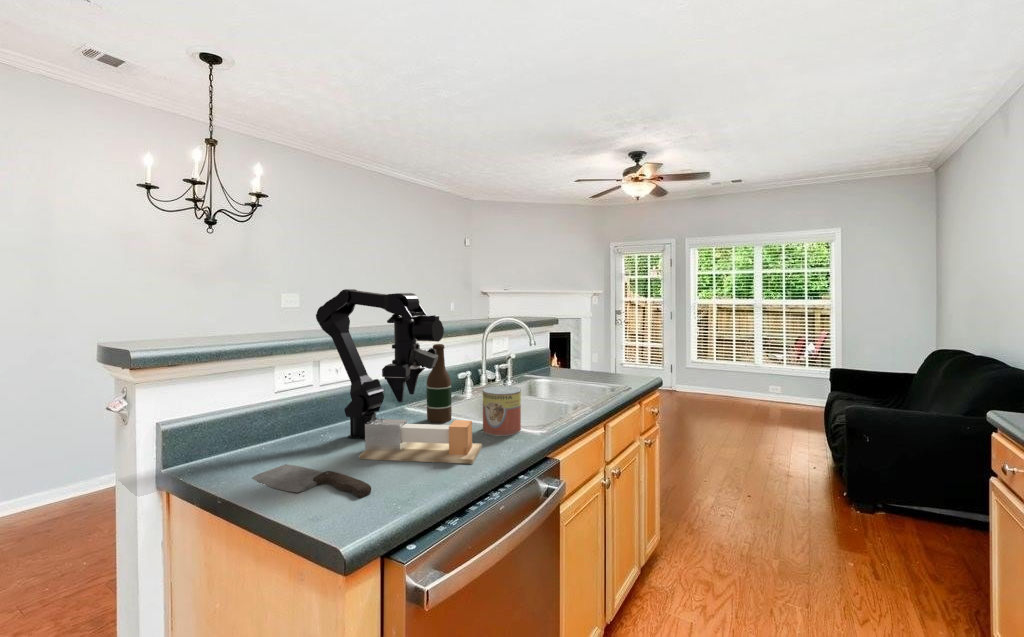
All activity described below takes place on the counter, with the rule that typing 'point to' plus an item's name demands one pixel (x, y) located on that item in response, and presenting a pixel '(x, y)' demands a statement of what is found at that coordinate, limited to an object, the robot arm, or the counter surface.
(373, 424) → the sleeve
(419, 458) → the board
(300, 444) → the counter surface
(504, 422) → the canned food
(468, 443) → the orange rectangular block
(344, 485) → the cleaver
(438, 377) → the beer bottle
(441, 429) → the off-white square bar
